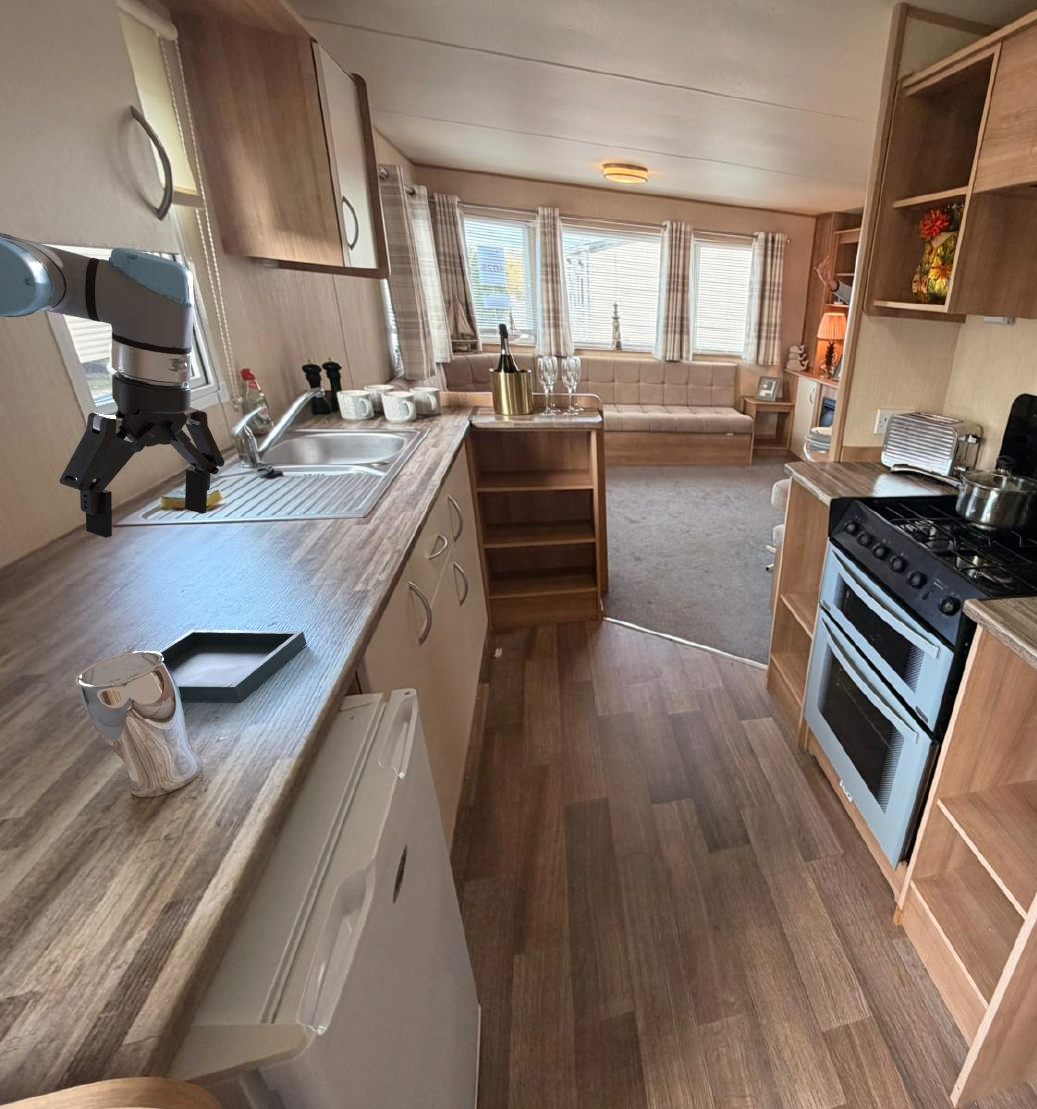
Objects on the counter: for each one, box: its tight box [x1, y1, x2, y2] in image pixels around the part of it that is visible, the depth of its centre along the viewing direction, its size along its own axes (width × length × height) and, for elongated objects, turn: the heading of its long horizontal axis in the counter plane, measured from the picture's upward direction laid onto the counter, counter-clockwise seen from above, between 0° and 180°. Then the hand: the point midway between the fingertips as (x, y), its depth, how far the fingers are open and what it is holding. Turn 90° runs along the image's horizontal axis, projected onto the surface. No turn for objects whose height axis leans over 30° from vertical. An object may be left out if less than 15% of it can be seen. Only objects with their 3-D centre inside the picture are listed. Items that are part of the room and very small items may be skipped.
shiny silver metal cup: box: [75, 650, 204, 798], centre depth 64 cm, size 7×7×15 cm
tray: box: [156, 629, 308, 704], centre depth 85 cm, size 17×15×3 cm
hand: (151, 521), depth 85 cm, fingers open, 13 cm apart
